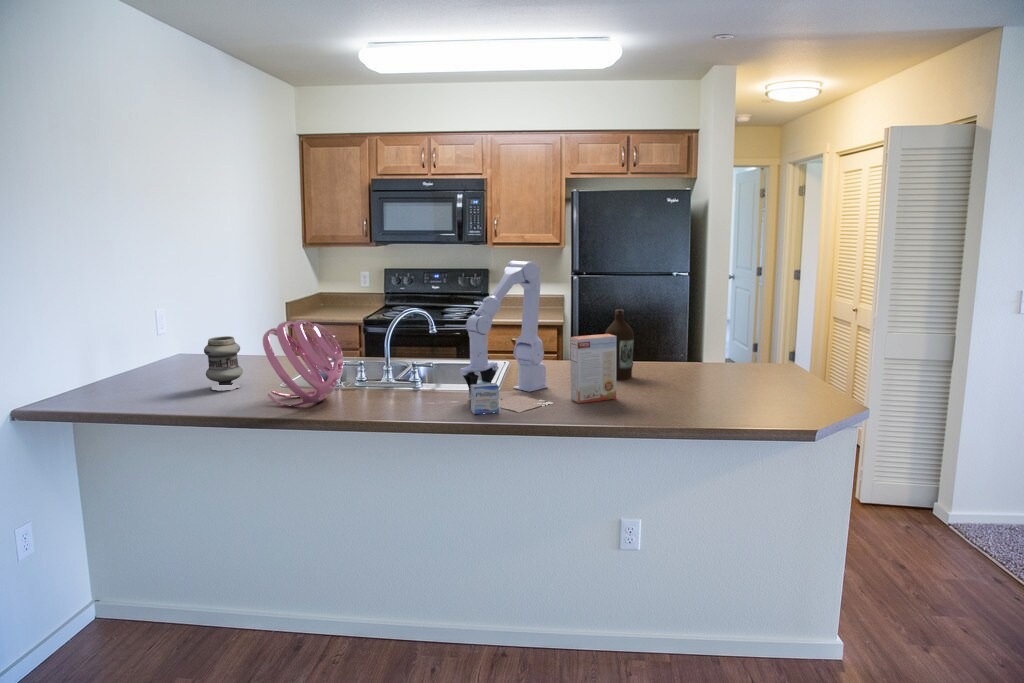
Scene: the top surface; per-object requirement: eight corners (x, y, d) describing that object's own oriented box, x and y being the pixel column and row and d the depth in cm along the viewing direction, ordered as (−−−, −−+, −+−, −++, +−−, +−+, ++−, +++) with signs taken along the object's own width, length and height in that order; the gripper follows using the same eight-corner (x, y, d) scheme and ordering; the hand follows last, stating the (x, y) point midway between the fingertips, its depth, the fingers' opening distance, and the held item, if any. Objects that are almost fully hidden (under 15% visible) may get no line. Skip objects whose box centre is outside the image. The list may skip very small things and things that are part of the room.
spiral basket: (219, 348, 218) (291, 298, 216) (263, 353, 245) (327, 309, 244) (265, 425, 214) (338, 374, 212) (305, 422, 242) (370, 377, 240)
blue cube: (480, 395, 235) (480, 380, 235) (490, 397, 232) (490, 382, 231) (468, 397, 232) (468, 382, 231) (479, 400, 228) (478, 385, 228)
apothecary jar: (199, 391, 247) (194, 339, 244) (223, 383, 259) (219, 334, 256) (227, 393, 244) (223, 341, 241) (251, 385, 255) (247, 336, 252)
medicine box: (473, 415, 213) (473, 387, 212) (470, 411, 217) (470, 383, 216) (499, 413, 215) (499, 385, 214) (495, 409, 220) (495, 382, 218)
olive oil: (598, 376, 263) (598, 309, 259) (618, 373, 270) (619, 307, 265) (618, 382, 255) (619, 312, 251) (639, 378, 261) (640, 310, 257)
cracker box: (607, 395, 236) (608, 333, 232) (616, 399, 230) (617, 335, 226) (569, 399, 231) (569, 335, 227) (577, 404, 225) (578, 338, 222)
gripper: (470, 357, 222) (471, 399, 224) (503, 350, 232) (504, 391, 234) (455, 354, 227) (456, 395, 229) (488, 348, 237) (489, 388, 239)
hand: (479, 393), depth 232 cm, fingers closed on blue cube, 5 cm apart
